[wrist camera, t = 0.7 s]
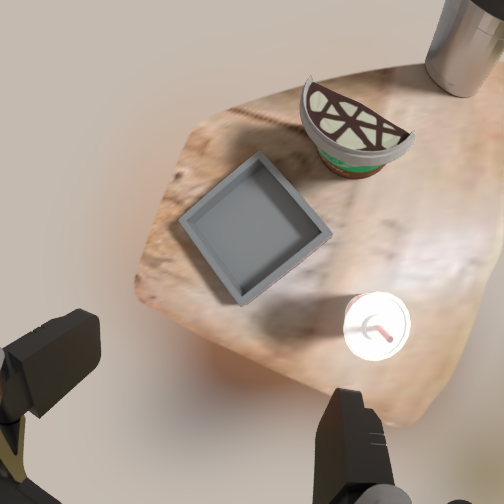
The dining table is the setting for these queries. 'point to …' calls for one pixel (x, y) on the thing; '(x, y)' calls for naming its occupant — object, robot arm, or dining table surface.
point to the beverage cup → (376, 325)
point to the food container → (350, 133)
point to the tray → (254, 228)
